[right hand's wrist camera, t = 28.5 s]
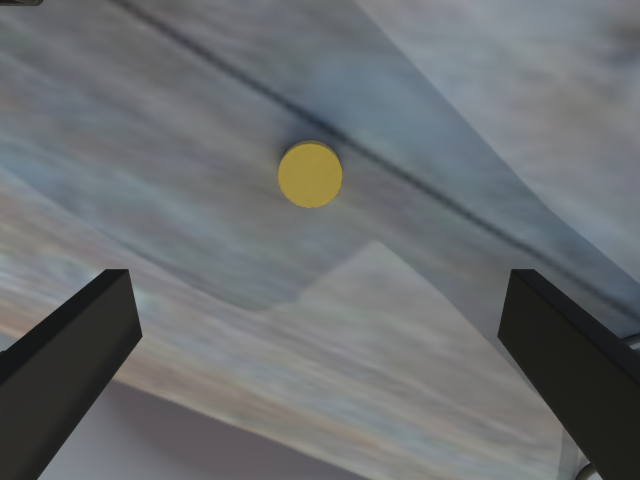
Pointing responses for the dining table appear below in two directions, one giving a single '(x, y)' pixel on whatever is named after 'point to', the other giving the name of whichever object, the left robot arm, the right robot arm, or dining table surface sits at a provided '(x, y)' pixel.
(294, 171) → the lid
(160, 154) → the dining table surface
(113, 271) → the right robot arm
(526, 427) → the dining table surface
